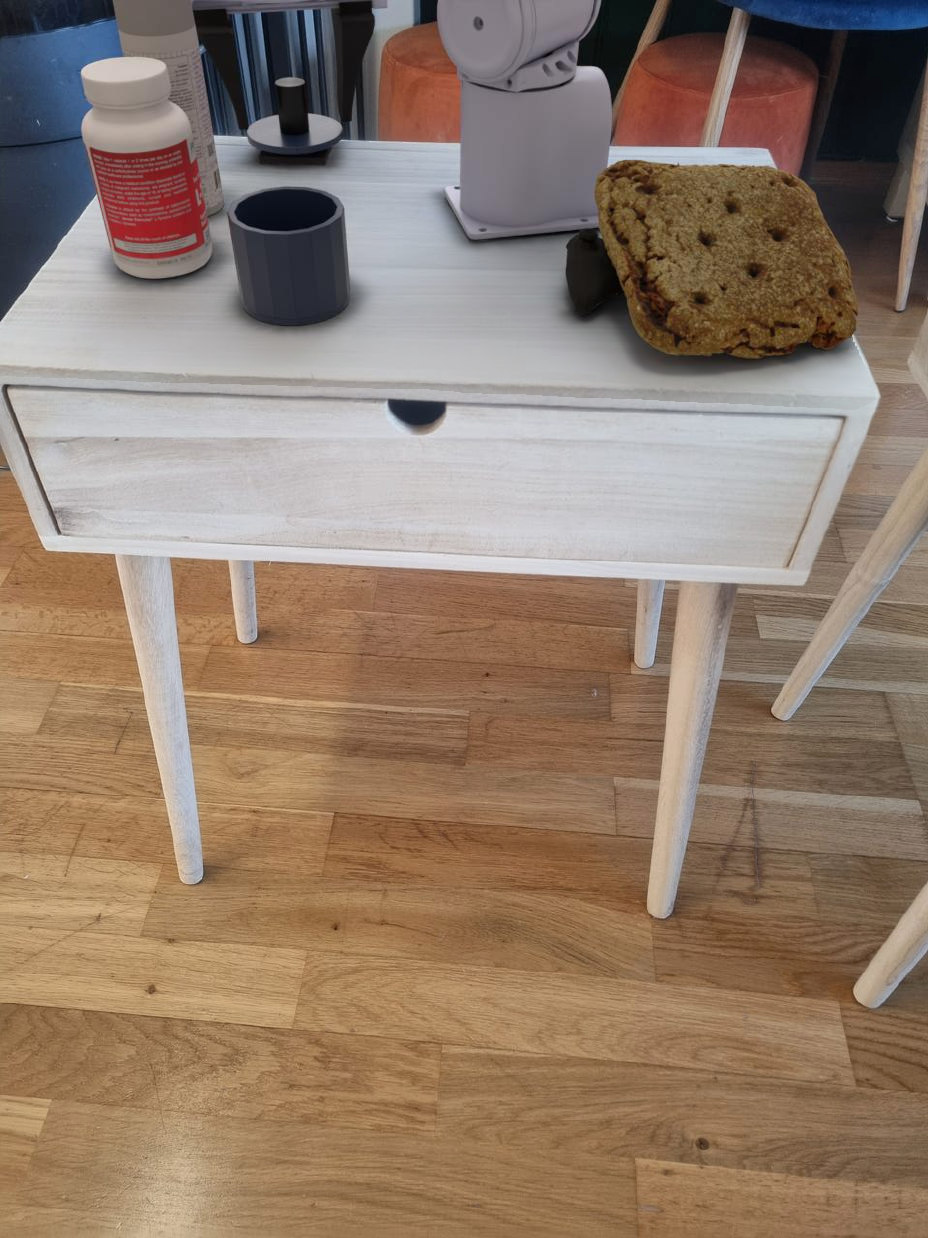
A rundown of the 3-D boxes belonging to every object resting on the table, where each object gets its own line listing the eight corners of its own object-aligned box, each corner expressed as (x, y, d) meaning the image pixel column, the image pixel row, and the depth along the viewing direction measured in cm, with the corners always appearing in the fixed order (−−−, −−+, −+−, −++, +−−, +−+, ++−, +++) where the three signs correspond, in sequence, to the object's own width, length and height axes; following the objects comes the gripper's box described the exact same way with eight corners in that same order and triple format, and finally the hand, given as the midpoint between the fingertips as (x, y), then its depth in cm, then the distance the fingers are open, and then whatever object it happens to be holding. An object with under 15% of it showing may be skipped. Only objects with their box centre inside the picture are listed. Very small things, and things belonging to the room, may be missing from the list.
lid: (349, 128, 78) (345, 67, 75) (336, 164, 73) (331, 99, 69) (258, 126, 78) (250, 64, 75) (239, 161, 73) (230, 96, 70)
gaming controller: (577, 314, 57) (570, 222, 56) (554, 322, 61) (547, 237, 60) (720, 299, 58) (716, 209, 57) (687, 308, 63) (682, 225, 62)
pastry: (896, 272, 60) (926, 235, 58) (772, 443, 53) (800, 410, 50) (667, 115, 62) (686, 72, 59) (514, 259, 54) (528, 217, 52)
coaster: (334, 140, 77) (334, 133, 77) (325, 165, 74) (324, 158, 73) (271, 138, 77) (270, 131, 77) (259, 163, 74) (258, 156, 74)
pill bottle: (229, 266, 62) (197, 73, 54) (135, 291, 60) (87, 93, 52) (191, 230, 66) (155, 44, 58) (101, 252, 63) (51, 61, 55)
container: (185, 186, 71) (139, -64, 60) (238, 200, 69) (199, -55, 58) (141, 210, 68) (83, -49, 57) (194, 225, 66) (145, -38, 56)
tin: (356, 275, 61) (349, 187, 58) (342, 327, 57) (334, 235, 53) (254, 272, 62) (241, 184, 58) (232, 323, 57) (216, 231, 53)
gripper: (370, -116, 68) (380, 96, 78) (155, -109, 66) (193, 109, 75) (389, -96, 64) (397, 127, 73) (158, -87, 61) (198, 143, 71)
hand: (294, 121), depth 74 cm, fingers open, 7 cm apart
